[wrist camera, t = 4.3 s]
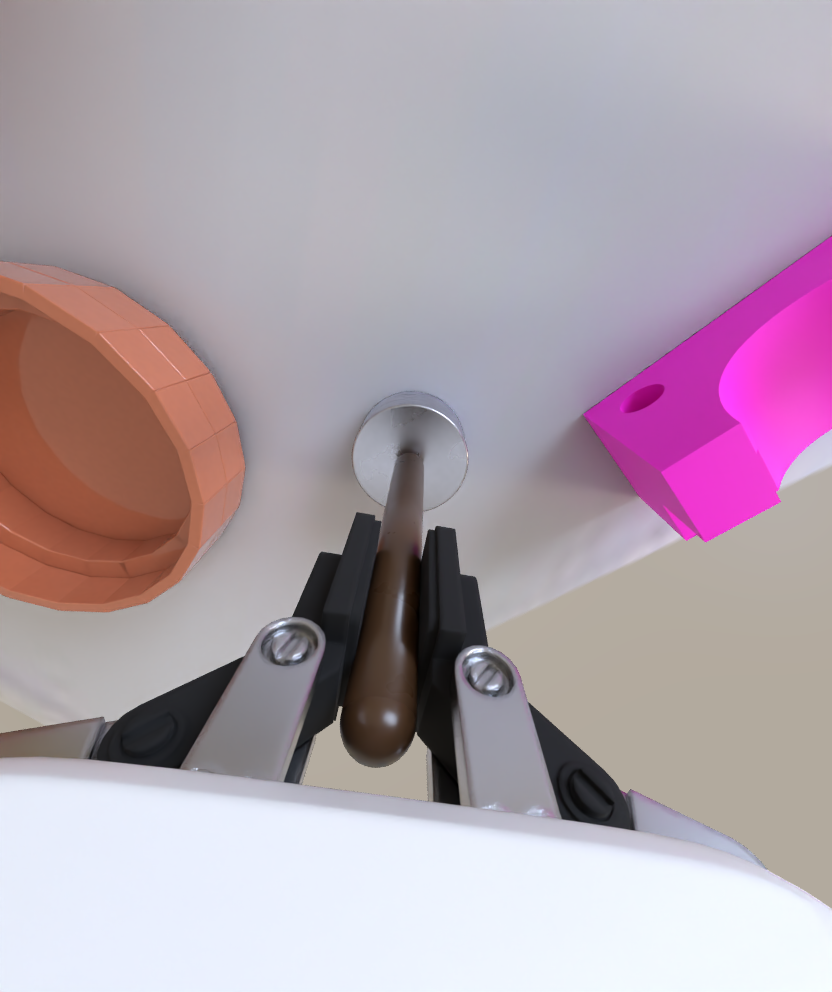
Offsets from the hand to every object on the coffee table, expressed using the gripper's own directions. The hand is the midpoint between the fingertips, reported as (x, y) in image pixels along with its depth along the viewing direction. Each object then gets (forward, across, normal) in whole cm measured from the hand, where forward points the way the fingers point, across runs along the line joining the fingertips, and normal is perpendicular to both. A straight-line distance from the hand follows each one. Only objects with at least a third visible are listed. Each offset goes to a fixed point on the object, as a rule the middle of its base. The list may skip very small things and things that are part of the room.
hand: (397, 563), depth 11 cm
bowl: (+11, +17, +3) cm, 20 cm away
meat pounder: (+11, 0, 0) cm, 11 cm away
